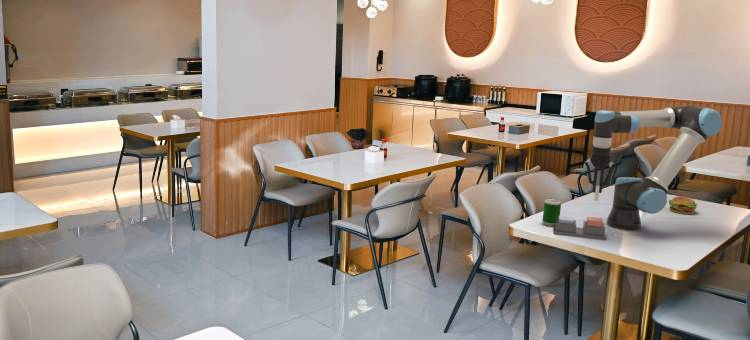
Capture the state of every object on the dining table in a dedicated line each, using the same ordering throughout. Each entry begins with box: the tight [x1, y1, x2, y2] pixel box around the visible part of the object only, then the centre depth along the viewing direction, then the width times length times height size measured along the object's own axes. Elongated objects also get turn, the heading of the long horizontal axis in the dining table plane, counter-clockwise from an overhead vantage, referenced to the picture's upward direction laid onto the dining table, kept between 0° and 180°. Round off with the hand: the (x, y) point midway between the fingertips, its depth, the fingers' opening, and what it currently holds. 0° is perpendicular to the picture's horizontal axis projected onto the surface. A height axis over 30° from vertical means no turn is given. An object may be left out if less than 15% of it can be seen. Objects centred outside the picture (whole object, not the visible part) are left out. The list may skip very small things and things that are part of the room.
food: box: [668, 195, 698, 215], centre depth 346 cm, size 14×14×8 cm
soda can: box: [541, 197, 562, 227], centre depth 307 cm, size 8×8×12 cm
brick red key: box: [585, 216, 604, 227], centre depth 293 cm, size 6×6×3 cm
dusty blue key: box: [558, 215, 575, 224], centre depth 296 cm, size 6×6×3 cm
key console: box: [552, 218, 607, 241], centre depth 295 cm, size 22×11×5 cm, turn 75°
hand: (596, 199), depth 291 cm, fingers closed
